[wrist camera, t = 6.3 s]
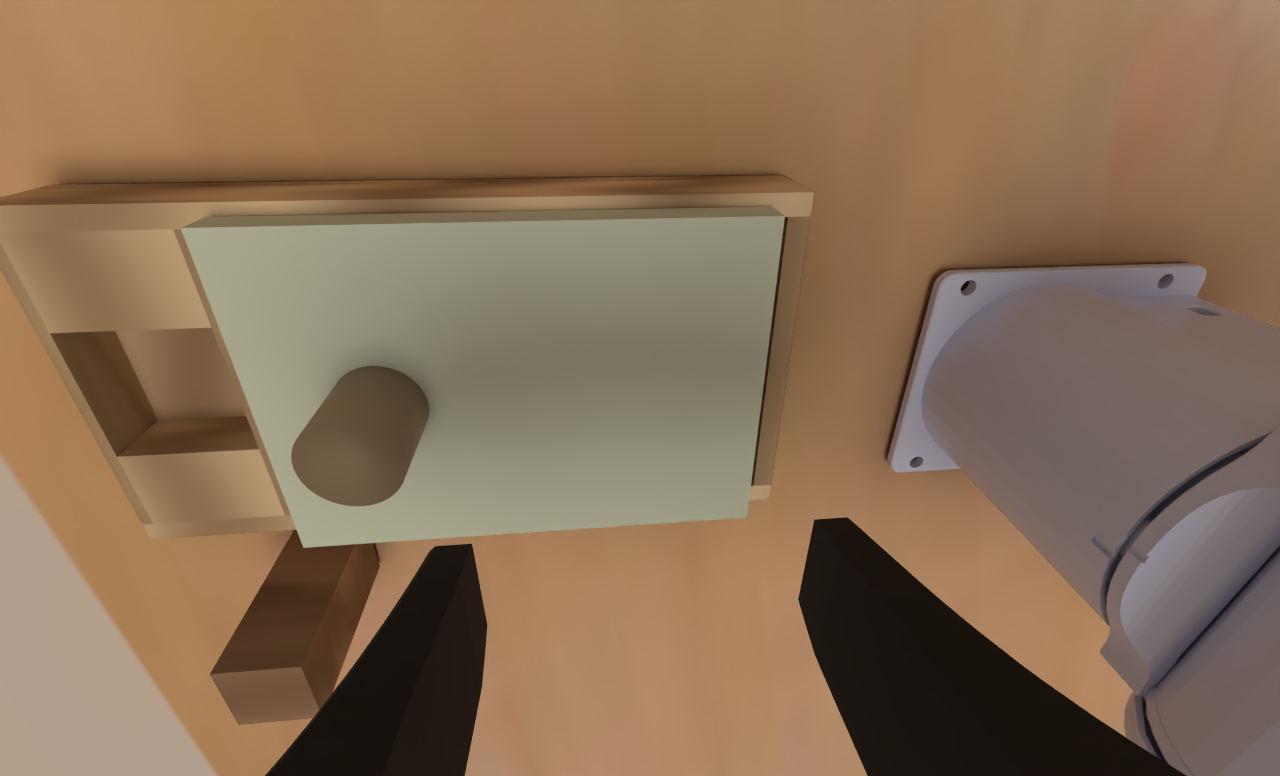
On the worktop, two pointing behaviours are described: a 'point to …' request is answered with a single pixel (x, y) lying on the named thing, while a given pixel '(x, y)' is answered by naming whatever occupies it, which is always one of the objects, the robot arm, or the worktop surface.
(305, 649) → the dark brown rectangular block
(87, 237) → the shallow wooden tray
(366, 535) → the lid
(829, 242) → the worktop surface
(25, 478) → the worktop surface
